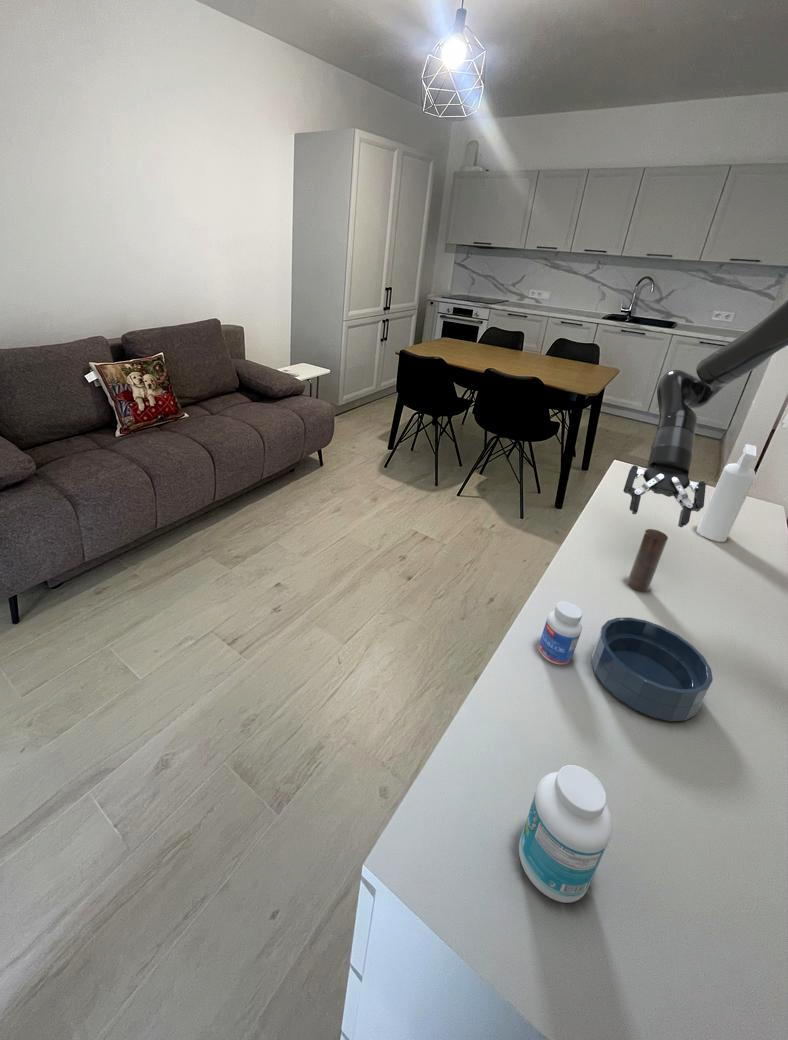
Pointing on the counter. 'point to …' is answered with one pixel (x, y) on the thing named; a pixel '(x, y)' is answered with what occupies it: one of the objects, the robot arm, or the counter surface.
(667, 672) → the bowl
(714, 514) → the white spray bottle
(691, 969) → the counter surface
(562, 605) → the pill bottle
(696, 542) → the counter surface
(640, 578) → the brown wooden dowel
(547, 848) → the pill bottle
